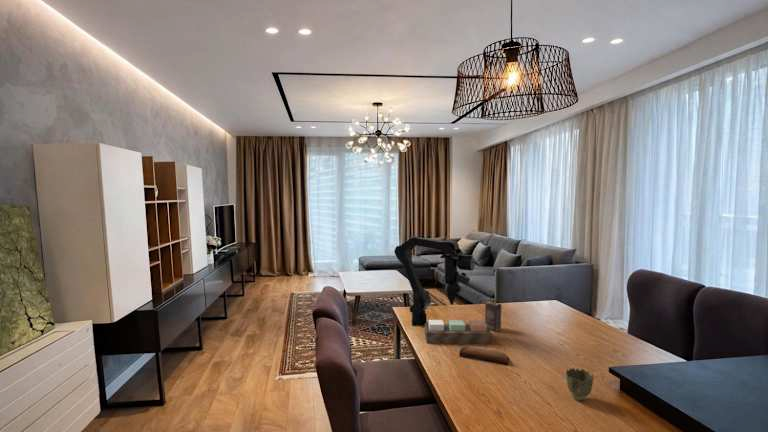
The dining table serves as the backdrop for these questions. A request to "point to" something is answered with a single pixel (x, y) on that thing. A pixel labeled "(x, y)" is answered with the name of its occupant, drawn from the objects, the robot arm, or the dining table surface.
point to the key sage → (456, 325)
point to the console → (458, 336)
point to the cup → (579, 383)
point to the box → (493, 316)
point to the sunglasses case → (484, 353)
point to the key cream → (436, 325)
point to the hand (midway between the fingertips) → (450, 302)
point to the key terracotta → (478, 325)
